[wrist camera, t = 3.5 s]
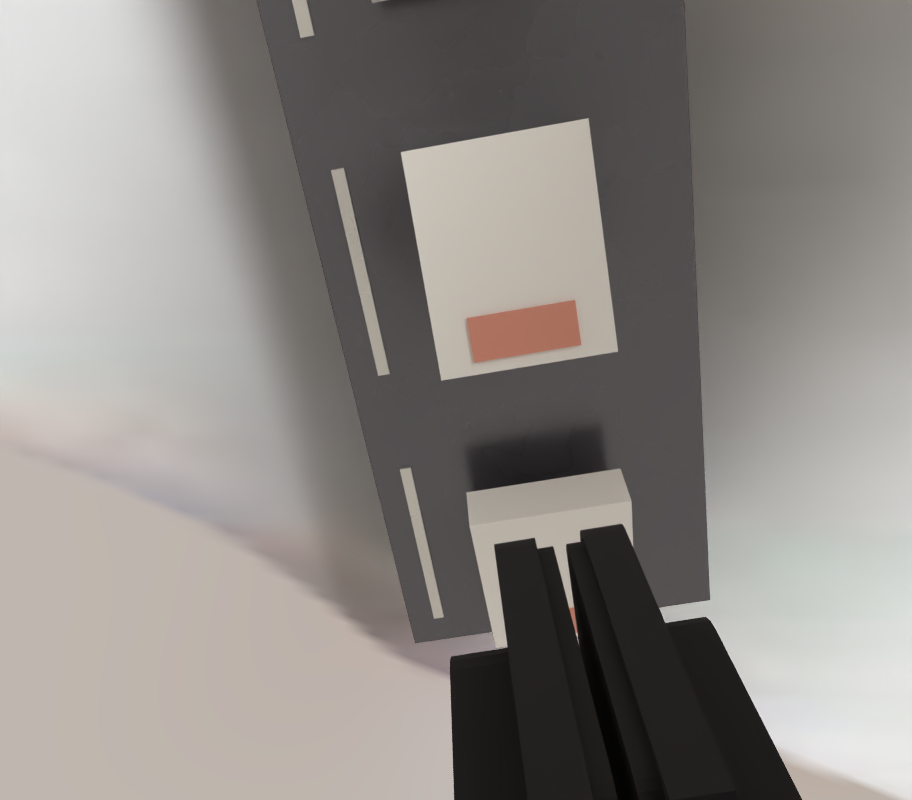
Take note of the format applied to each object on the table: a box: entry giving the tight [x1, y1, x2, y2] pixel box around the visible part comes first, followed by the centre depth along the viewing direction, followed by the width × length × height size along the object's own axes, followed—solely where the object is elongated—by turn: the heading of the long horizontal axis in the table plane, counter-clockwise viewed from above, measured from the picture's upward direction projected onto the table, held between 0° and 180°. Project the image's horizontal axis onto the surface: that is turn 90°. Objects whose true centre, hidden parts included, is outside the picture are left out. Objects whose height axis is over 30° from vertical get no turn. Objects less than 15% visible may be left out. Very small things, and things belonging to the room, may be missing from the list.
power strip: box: [257, 0, 710, 643], centre depth 19 cm, size 29×9×5 cm, turn 10°
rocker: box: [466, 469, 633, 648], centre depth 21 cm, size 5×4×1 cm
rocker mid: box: [401, 118, 618, 381], centre depth 17 cm, size 5×4×1 cm
